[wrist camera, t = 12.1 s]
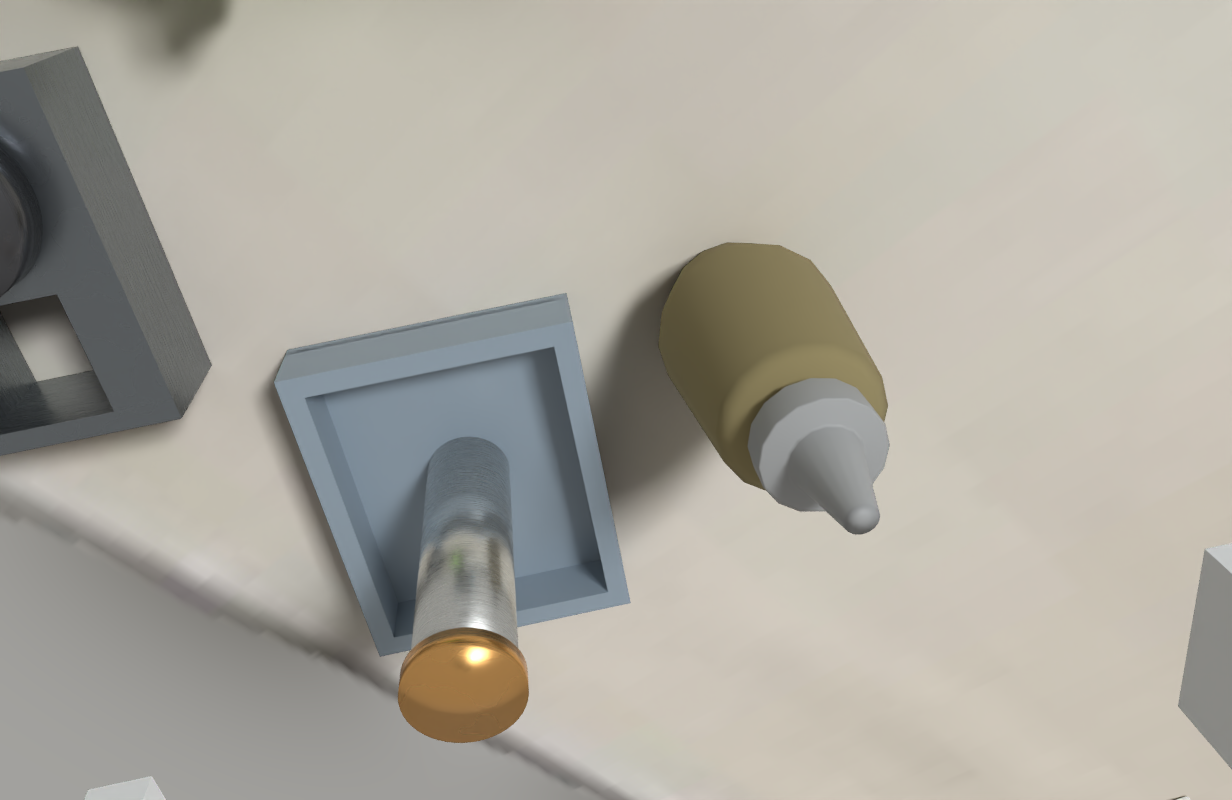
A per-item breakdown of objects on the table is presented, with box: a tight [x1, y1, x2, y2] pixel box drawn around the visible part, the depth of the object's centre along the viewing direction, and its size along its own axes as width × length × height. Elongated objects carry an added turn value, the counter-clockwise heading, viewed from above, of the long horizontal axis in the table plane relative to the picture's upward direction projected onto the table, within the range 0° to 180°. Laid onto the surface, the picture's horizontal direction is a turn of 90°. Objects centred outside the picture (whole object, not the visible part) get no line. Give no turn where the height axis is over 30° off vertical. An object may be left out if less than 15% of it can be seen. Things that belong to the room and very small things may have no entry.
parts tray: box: [274, 293, 630, 656], centre depth 46 cm, size 16×13×3 cm
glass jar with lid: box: [398, 437, 529, 743], centre depth 41 cm, size 5×5×15 cm
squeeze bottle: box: [658, 243, 890, 534], centre depth 37 cm, size 8×8×18 cm
